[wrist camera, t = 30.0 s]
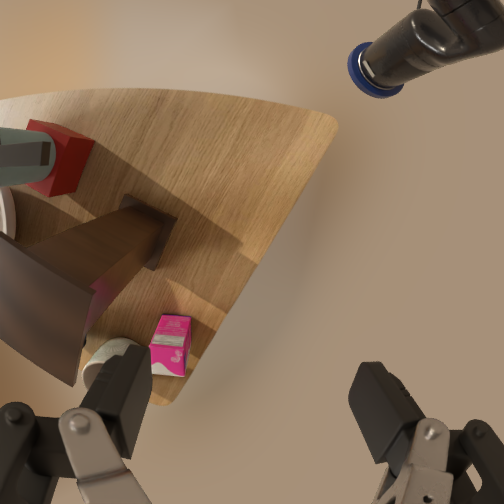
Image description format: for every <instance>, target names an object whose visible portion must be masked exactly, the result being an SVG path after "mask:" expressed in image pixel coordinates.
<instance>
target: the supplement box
mask: <svg viewBox="0 0 504 504" xmlns="http://www.w3.org/2000/svg"><path fill="white" fill-rule="evenodd" d="M191 342H192V340H191V316H179V315H169V314H162V316H161V319H160V321H159V324H158V326H157V328H156V331H155V333H154V335H153V338H152V340H151V343H150V345H149V347H150V350H151V365H152V374H159V375H170V376H179V377H185V374H186V368H187V363H188V358H189V353H190V348H191Z"/></svg>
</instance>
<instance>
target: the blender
mask: <svg viewBox="0 0 504 504" xmlns="http://www.w3.org/2000/svg"><path fill="white" fill-rule="evenodd" d="M0 140H1V145H6V144H15V143H26V142H38V141H46V142H51V148H50V158H49V165H48V166H20V167H0V187H4V186H11V185H18V184H26V185H28V186H29V187H31V188H33V189H35V190H36V191H38V192H40V193H42V194H43V195H45V196H47V197H53V196H58V195H63V194H68V193H74V192H75V191H76V188H77V186H78V183H79V180H80V177H81V175H82V172H83V169H84V167H85V164H86V162H87V159H88V157H89V154H90V152H91V149H92V147H93V145H94V142H95V140H93V139H90V138H88V137H86V136H83V135H81V134H79V133H77V132H74V131H72V130H70V129H67V128H65V127H63V126H60V125H58V124H54V123H48V122H43V121H38V120H32V119H30V120H29V123H28V125H27V128H26V130H21V129H12V128H1V127H0Z"/></svg>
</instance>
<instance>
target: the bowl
mask: <svg viewBox="0 0 504 504" xmlns="http://www.w3.org/2000/svg"><path fill="white" fill-rule="evenodd" d="M0 231H2V232H4V233H5V234H6V235H8V236H9V237H11V238H12V239H15V232H16V211H15V205H14V200H13V196H12V193H11V190H10V188H9V186H4V187H0Z"/></svg>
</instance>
